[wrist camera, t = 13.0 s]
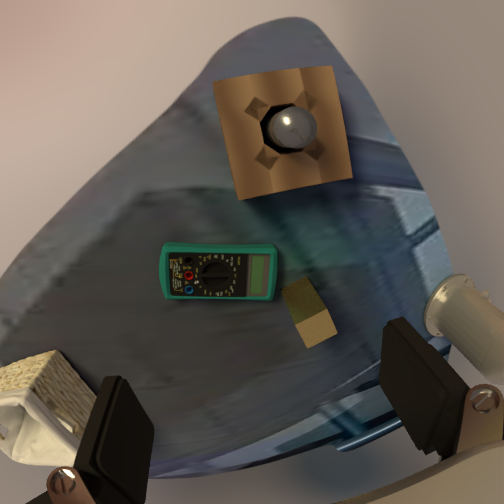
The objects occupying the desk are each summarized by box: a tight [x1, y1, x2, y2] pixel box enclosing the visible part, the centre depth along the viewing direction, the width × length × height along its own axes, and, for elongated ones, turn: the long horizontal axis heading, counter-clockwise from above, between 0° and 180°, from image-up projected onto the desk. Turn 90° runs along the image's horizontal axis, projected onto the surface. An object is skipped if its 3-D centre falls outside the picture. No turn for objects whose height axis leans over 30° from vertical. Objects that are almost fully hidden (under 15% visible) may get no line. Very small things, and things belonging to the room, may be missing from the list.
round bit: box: [262, 106, 317, 148], centre depth 31 cm, size 4×4×9 cm
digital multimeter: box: [159, 242, 277, 301], centre depth 39 cm, size 7×15×3 cm, turn 87°
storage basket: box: [0, 350, 97, 467], centre depth 38 cm, size 24×16×15 cm
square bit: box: [280, 276, 337, 348], centre depth 39 cm, size 4×4×9 cm
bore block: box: [213, 66, 353, 200], centre depth 33 cm, size 13×13×5 cm
